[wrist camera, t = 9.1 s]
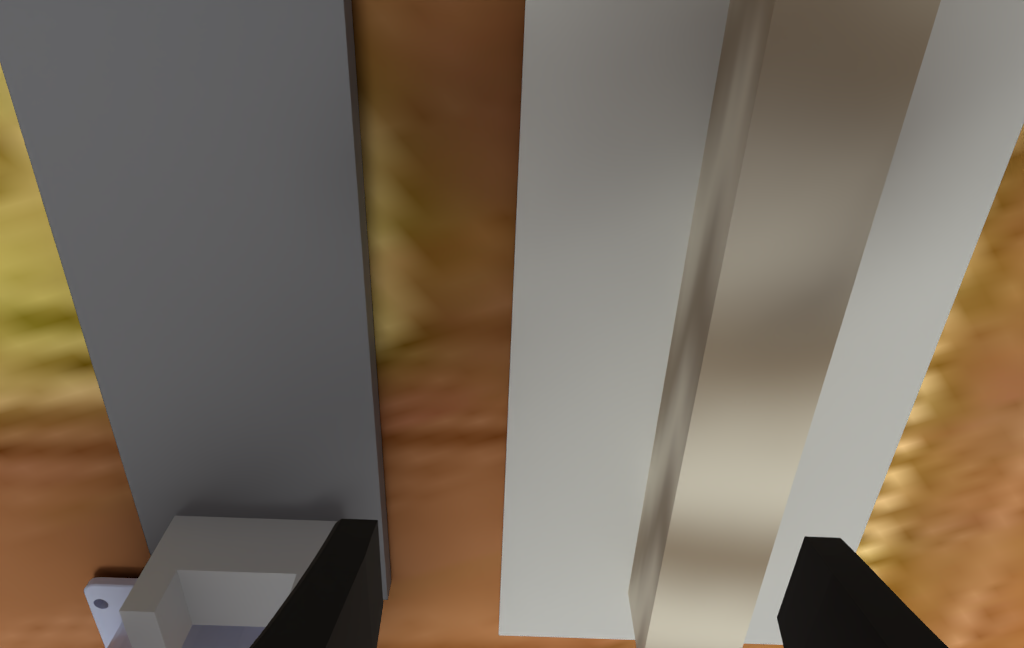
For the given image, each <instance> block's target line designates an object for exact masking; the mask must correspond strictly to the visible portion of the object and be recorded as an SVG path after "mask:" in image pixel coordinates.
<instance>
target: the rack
mask: <svg viewBox="0 0 1024 648" xmlns="http://www.w3.org/2000/svg"><path fill="white" fill-rule="evenodd" d="M0 63H1V66H2V70H3V73H4V76H5V79H6V83H7V86H8V89H9V92H10V96H11V99H12V102H13V106H14V109H15V112H16V115H17V119H18V122H19V125H20V129H21V132H22V135H23V138H24V142H25V145H26V148H27V152H28V155H29V158H30V161H31V165H32V168H33V171H34V174H35V178H36V181H37V184H38V188H39V191H40V194H41V197H42V201H43V204H44V207H45V211H46V214H47V217H48V220H49V224H50V227H51V230H52V233H53V237H54V240H55V243H56V247H57V250H58V253H59V256H60V260H61V263H62V266H63V270H64V273H65V276H66V279H67V283H68V286H69V289H70V293H71V296H72V299H73V302H74V306H75V309H76V312H77V315H78V319H79V322H80V325H81V329H82V332H83V335H84V338H85V342H86V345H87V348H88V352H89V355H90V358H91V361H92V365H93V368H94V371H95V375H96V378H97V381H98V384H99V388H100V391H101V394H102V397H103V401H104V404H105V407H106V411H107V414H108V417H109V420H110V424H111V427H112V430H113V434H114V437H115V440H116V443H117V447H118V450H119V453H120V456H121V460H122V463H123V466H124V470H125V473H126V476H127V479H128V483H129V486H130V489H131V493H132V496H133V499H134V502H135V506H136V509H137V512H138V516H139V519H140V522H141V525H142V529H143V532H144V535H145V538H146V542H147V545H148V548H149V552H150V555H151V557H150V559H149V561H148V562H147V564H146V566H145V567H144V569H143V571H142V573H141V574H140V576H139V578H138V579H137V581H136V583H135V584H134V586H133V588H132V590H131V591H130V593H129V595H128V596H127V598H126V600H125V602H124V603H123V605H122V607H121V608H120V610H119V612H120V615H121V618H122V621H123V624H124V627H125V629H126V632H127V635H128V638H129V641H130V643H131V646H132V648H182V646H183V644H184V642H185V639H186V637H187V635H188V633H189V631H190V629H191V627H192V625H220V626H250V627H266V626H267V625H268V623H269V622H270V621H271V619H272V618H273V616H274V615H275V614H276V612H277V611H278V609H279V608H280V607H281V605H282V604H283V603H284V601H285V600H286V598H287V597H288V596H289V594H290V593H291V592H292V590H293V589H294V587H295V586H296V585H297V583H298V582H299V580H300V579H301V577H302V576H303V574H304V573H305V571H306V570H307V568H308V567H309V565H310V564H311V562H312V561H313V559H314V558H315V556H316V554H317V553H318V551H319V550H320V548H321V546H322V545H323V543H324V542H325V540H326V538H327V537H328V535H329V533H330V532H331V530H332V528H333V526H334V525H335V523H336V522H338V521H339V520H340V519H366V520H378V530H379V546H380V561H381V576H382V592H383V600H388V596H389V591H390V585H391V570H390V556H389V541H388V527H387V512H386V498H385V483H384V468H383V454H382V439H381V425H380V410H379V396H378V381H377V367H376V352H375V338H374V323H373V308H372V294H371V279H370V265H369V250H368V236H367V221H366V207H365V192H364V178H363V163H362V149H361V134H360V119H359V105H358V90H357V76H356V61H355V47H354V32H353V18H352V3H351V0H0Z"/></svg>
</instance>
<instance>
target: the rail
mask: <svg viewBox="0 0 1024 648" xmlns="http://www.w3.org/2000/svg"><path fill="white" fill-rule="evenodd" d="M940 2H941V0H730V3H729V9H728V15H727V21H726V26H725V32H724V38H723V44H722V50H721V55H720V61H719V67H718V73H717V79H716V84H715V90H714V96H713V102H712V108H711V113H710V119H709V125H708V131H707V137H706V142H705V148H704V154H703V160H702V166H701V171H700V177H699V183H698V189H697V195H696V200H695V206H694V212H693V218H692V224H691V230H690V235H689V241H688V247H687V253H686V259H685V264H684V270H683V276H682V282H681V288H680V293H679V299H678V305H677V311H676V317H675V322H674V328H673V334H672V340H671V346H670V351H669V357H668V363H667V369H666V375H665V380H664V386H663V392H662V398H661V404H660V409H659V415H658V421H657V427H656V433H655V438H654V444H653V450H652V456H651V462H650V467H649V473H648V479H647V485H646V491H645V496H644V502H643V508H642V514H641V520H640V526H639V531H638V537H637V543H636V549H635V555H634V560H633V566H632V572H631V578H630V584H629V589H628V597H629V603H630V609H631V616H632V622H633V628H634V634H635V641H636V647H637V648H742V647H743V644H744V640H745V637H746V634H747V631H748V627H749V624H750V621H751V618H752V614H753V611H754V608H755V605H756V601H757V598H758V595H759V592H760V588H761V585H762V582H763V578H764V575H765V572H766V569H767V565H768V562H769V559H770V556H771V552H772V549H773V546H774V543H775V539H776V536H777V533H778V530H779V526H780V523H781V520H782V517H783V513H784V510H785V507H786V504H787V500H788V497H789V494H790V491H791V487H792V484H793V481H794V478H795V474H796V471H797V468H798V464H799V461H800V458H801V455H802V451H803V448H804V445H805V442H806V438H807V435H808V432H809V429H810V425H811V422H812V419H813V416H814V412H815V409H816V406H817V403H818V399H819V396H820V393H821V390H822V386H823V383H824V380H825V377H826V373H827V370H828V367H829V364H830V360H831V357H832V354H833V350H834V347H835V344H836V341H837V337H838V334H839V331H840V328H841V324H842V321H843V318H844V315H845V311H846V308H847V305H848V302H849V298H850V295H851V292H852V289H853V285H854V282H855V279H856V276H857V272H858V269H859V266H860V263H861V259H862V256H863V253H864V250H865V246H866V243H867V240H868V236H869V233H870V230H871V227H872V223H873V220H874V217H875V214H876V210H877V207H878V204H879V201H880V197H881V194H882V191H883V188H884V184H885V181H886V178H887V175H888V171H889V168H890V165H891V162H892V158H893V155H894V152H895V149H896V145H897V142H898V139H899V136H900V132H901V129H902V126H903V122H904V119H905V116H906V113H907V109H908V106H909V103H910V100H911V96H912V93H913V90H914V87H915V83H916V80H917V77H918V74H919V70H920V67H921V64H922V61H923V57H924V54H925V51H926V48H927V44H928V41H929V38H930V35H931V31H932V28H933V25H934V22H935V18H936V15H937V12H938V8H939V5H940Z"/></svg>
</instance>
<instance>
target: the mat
mask: <svg viewBox="0 0 1024 648" xmlns="http://www.w3.org/2000/svg"><path fill="white" fill-rule="evenodd" d="M729 3H730V0H525V23H524V46H523V70H522V94H521V117H520V141H519V164H518V188H517V211H516V235H515V259H514V282H513V306H512V329H511V353H510V376H509V400H508V424H507V447H506V471H505V494H504V518H503V541H502V565H501V589H500V612H499V635H508V636H538V637H568V638H598V639H628V640H635V634H634V628H633V622H632V616H631V609H630V603H629V597H628V589H629V584H630V578H631V572H632V566H633V560H634V555H635V549H636V543H637V537H638V531H639V526H640V520H641V514H642V508H643V502H644V496H645V491H646V485H647V479H648V473H649V467H650V462H651V456H652V450H653V444H654V438H655V433H656V427H657V421H658V415H659V409H660V404H661V398H662V392H663V386H664V380H665V375H666V369H667V363H668V357H669V351H670V346H671V340H672V334H673V328H674V322H675V317H676V311H677V305H678V299H679V293H680V288H681V282H682V276H683V270H684V264H685V259H686V253H687V247H688V241H689V235H690V230H691V224H692V218H693V212H694V206H695V200H696V195H697V189H698V183H699V177H700V171H701V166H702V160H703V154H704V148H705V142H706V137H707V131H708V125H709V119H710V113H711V108H712V102H713V96H714V90H715V84H716V79H717V73H718V67H719V61H720V55H721V50H722V44H723V38H724V32H725V26H726V21H727V15H728V9H729ZM1023 124H1024V0H941V2H940V5H939V8H938V12H937V15H936V18H935V22H934V25H933V28H932V31H931V35H930V38H929V41H928V44H927V48H926V51H925V54H924V57H923V61H922V64H921V67H920V70H919V74H918V77H917V80H916V83H915V87H914V90H913V93H912V96H911V100H910V103H909V106H908V109H907V113H906V116H905V119H904V122H903V126H902V129H901V132H900V136H899V139H898V142H897V145H896V149H895V152H894V155H893V158H892V162H891V165H890V168H889V171H888V175H887V178H886V181H885V184H884V188H883V191H882V194H881V197H880V201H879V204H878V207H877V210H876V214H875V217H874V220H873V223H872V227H871V230H870V233H869V236H868V240H867V243H866V246H865V250H864V253H863V256H862V259H861V263H860V266H859V269H858V272H857V276H856V279H855V282H854V285H853V289H852V292H851V295H850V298H849V302H848V305H847V308H846V311H845V315H844V318H843V321H842V324H841V328H840V331H839V334H838V337H837V341H836V344H835V347H834V350H833V354H832V357H831V360H830V364H829V367H828V370H827V373H826V377H825V380H824V383H823V386H822V390H821V393H820V396H819V399H818V403H817V406H816V409H815V412H814V416H813V419H812V422H811V425H810V429H809V432H808V435H807V438H806V442H805V445H804V448H803V451H802V455H801V458H800V461H799V464H798V468H797V471H796V474H795V478H794V481H793V484H792V487H791V491H790V494H789V497H788V500H787V504H786V507H785V510H784V513H783V517H782V520H781V523H780V526H779V530H778V533H777V536H776V539H775V543H774V546H773V549H772V552H771V556H770V559H769V562H768V565H767V569H766V572H765V575H764V578H763V582H762V585H761V588H760V592H759V595H758V598H757V601H756V605H755V608H754V611H753V614H752V618H751V621H750V624H749V627H748V631H747V634H746V637H745V640H744V643H748V644H778V645H783V642H782V638H781V633H780V629H779V625H778V621H777V615H778V612H779V609H780V607H781V604H782V601H783V598H784V595H785V592H786V589H787V586H788V583H789V580H790V578H791V575H792V572H793V569H794V566H795V563H796V560H797V557H798V554H799V551H800V548H801V546H802V543H803V540H804V537H805V536H808V537H834V538H841V539H842V540H843V541H844V542H845V543H846V544H847V545H848V546H849V547H850V548H851V549H852V550H853V551H854V552H855V553H856V550H857V548H858V545H859V543H860V540H861V538H862V535H863V533H864V530H865V527H866V525H867V522H868V520H869V517H870V515H871V512H872V510H873V507H874V504H875V502H876V499H877V497H878V494H879V492H880V489H881V487H882V484H883V481H884V479H885V476H886V474H887V471H888V469H889V466H890V464H891V461H892V458H893V456H894V453H895V451H896V448H897V446H898V443H899V441H900V438H901V435H902V433H903V430H904V428H905V425H906V423H907V420H908V418H909V415H910V412H911V410H912V407H913V405H914V402H915V400H916V397H917V395H918V392H919V389H920V387H921V384H922V382H923V379H924V377H925V374H926V372H927V369H928V366H929V364H930V361H931V359H932V356H933V354H934V351H935V348H936V346H937V343H938V341H939V338H940V336H941V333H942V331H943V328H944V325H945V323H946V320H947V318H948V315H949V313H950V310H951V308H952V305H953V302H954V300H955V297H956V295H957V292H958V290H959V287H960V285H961V282H962V279H963V277H964V274H965V272H966V269H967V267H968V264H969V262H970V259H971V256H972V254H973V251H974V249H975V246H976V244H977V241H978V239H979V236H980V233H981V231H982V228H983V226H984V223H985V221H986V218H987V216H988V213H989V210H990V208H991V205H992V203H993V200H994V198H995V195H996V193H997V190H998V187H999V185H1000V182H1001V180H1002V177H1003V175H1004V172H1005V170H1006V167H1007V164H1008V162H1009V159H1010V157H1011V154H1012V152H1013V149H1014V147H1015V144H1016V141H1017V139H1018V136H1019V134H1020V131H1021V129H1022V126H1023Z"/></svg>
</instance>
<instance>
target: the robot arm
mask: <svg viewBox="0 0 1024 648" xmlns="http://www.w3.org/2000/svg"><path fill="white" fill-rule="evenodd" d="M137 579H138V578H112V577H96V578H93V579H91V580H90V581H89V582H88V584H87V586H86V587H85V589H84V594H85V596H86V599H87V601H88V604H89V606H90V609H91V612H92V614H93V617H94V619H95V622H96V625H97V627H98V630H99V632H100V635H101V638H102V640H103V643H104V645H105V648H132V646H131V643H130V641H129V638H128V635H127V632H126V629H125V627H124V624H123V621H122V618H121V615H120V612H119V610H120V608H121V607H122V605H123V603H124V602H125V600H126V598H127V596H128V595H129V593H130V591H131V590H132V588H133V586H134V584H135V583H136V581H137ZM382 608H383V592H382V576H381V561H380V546H379V530H378V520H366V519H340V520H339V521H338V522H336V523H335V525H334V526H333V528H332V530H331V532H330V533H329V535H328V537H327V538H326V540H325V542H324V543H323V545H322V546H321V548H320V550H319V551H318V553H317V554H316V556H315V558H314V559H313V561H312V562H311V564H310V565H309V567H308V568H307V570H306V571H305V573H304V574H303V576H302V577H301V579H300V580H299V582H298V583H297V585H296V586H295V587H294V589H293V590H292V592H291V593H290V594H289V596H288V597H287V598H286V600H285V601H284V603H283V604H282V605H281V607H280V608H279V609H278V611H277V612H276V614H275V615H274V616H273V618H272V619H271V621H270V622H269V623H268V625H267V626H266V627H250V626H220V625H192V627H191V629H190V631H189V633H188V635H187V637H186V639H185V642H184V644H183V646H182V648H377V642H378V635H379V629H380V622H381V615H382ZM777 621H778V625H779V629H780V633H781V638H782V642H783V646H784V648H948V647H947V646H946V645H945V644H944V643H943V642H942V641H941V640H940V639H939V638H938V637H937V636H936V635H935V634H934V633H933V632H932V631H931V630H930V629H929V628H928V627H927V626H926V625H925V624H924V623H923V622H922V621H921V620H920V619H919V618H918V617H917V616H916V615H915V614H914V613H913V612H912V611H911V610H910V609H909V608H908V607H907V606H906V605H905V604H904V603H903V602H902V601H901V599H900V598H899V597H898V596H897V595H896V594H895V593H894V592H893V591H892V590H891V589H890V588H889V587H888V586H887V585H886V584H885V583H884V582H883V581H882V580H881V579H880V578H879V577H878V576H877V575H876V574H875V573H874V571H873V570H872V569H871V568H870V567H869V566H868V565H867V564H866V563H865V562H864V561H863V560H862V559H861V558H860V557H859V556H858V555H857V554H856V553H855V552H854V551H853V550H852V549H851V548H850V547H849V546H848V545H847V544H846V543H845V542H844V541H843V540H842V539H841V538H834V537H808V536H805V537H804V540H803V543H802V546H801V548H800V551H799V554H798V557H797V560H796V563H795V566H794V569H793V572H792V575H791V578H790V580H789V583H788V586H787V589H786V592H785V595H784V598H783V601H782V604H781V607H780V609H779V612H778V615H777Z"/></svg>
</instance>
